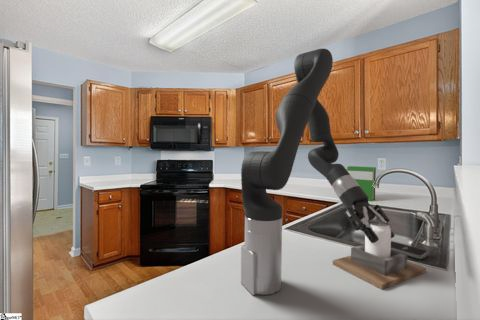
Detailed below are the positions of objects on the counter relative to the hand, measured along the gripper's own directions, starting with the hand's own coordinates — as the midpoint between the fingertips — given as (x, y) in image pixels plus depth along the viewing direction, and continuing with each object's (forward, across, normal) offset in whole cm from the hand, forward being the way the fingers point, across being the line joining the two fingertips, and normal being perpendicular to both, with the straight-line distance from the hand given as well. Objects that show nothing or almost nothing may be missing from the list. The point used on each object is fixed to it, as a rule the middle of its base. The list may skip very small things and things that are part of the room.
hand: (383, 239), depth 69 cm
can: (+4, 0, +7) cm, 8 cm away
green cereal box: (-49, +95, +61) cm, 123 cm away
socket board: (+5, 0, +7) cm, 9 cm away
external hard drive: (+3, +19, +10) cm, 22 cm away
